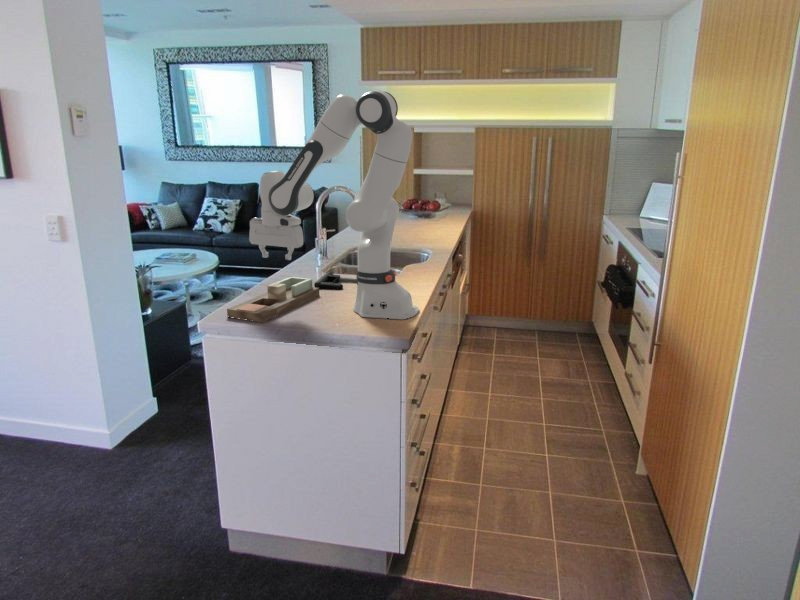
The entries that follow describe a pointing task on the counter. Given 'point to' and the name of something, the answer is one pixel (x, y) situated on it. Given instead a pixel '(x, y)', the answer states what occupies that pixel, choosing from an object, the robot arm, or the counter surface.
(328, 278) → the door handle
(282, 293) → the cube
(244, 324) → the counter surface
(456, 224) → the counter surface
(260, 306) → the tile
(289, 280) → the cubby
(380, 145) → the robot arm
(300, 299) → the board
